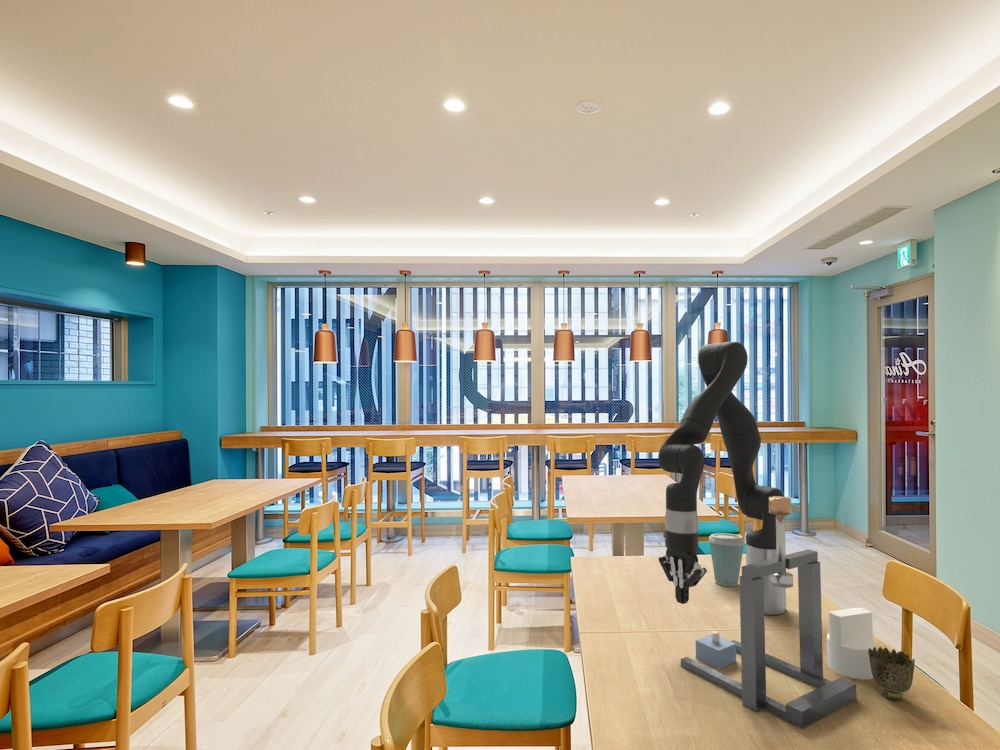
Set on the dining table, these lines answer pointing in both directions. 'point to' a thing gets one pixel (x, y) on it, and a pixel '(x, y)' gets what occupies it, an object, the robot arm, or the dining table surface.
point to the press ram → (781, 538)
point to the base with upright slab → (850, 642)
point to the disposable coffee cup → (726, 557)
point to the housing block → (716, 650)
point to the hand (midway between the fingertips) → (682, 602)
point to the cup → (891, 671)
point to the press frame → (755, 659)
